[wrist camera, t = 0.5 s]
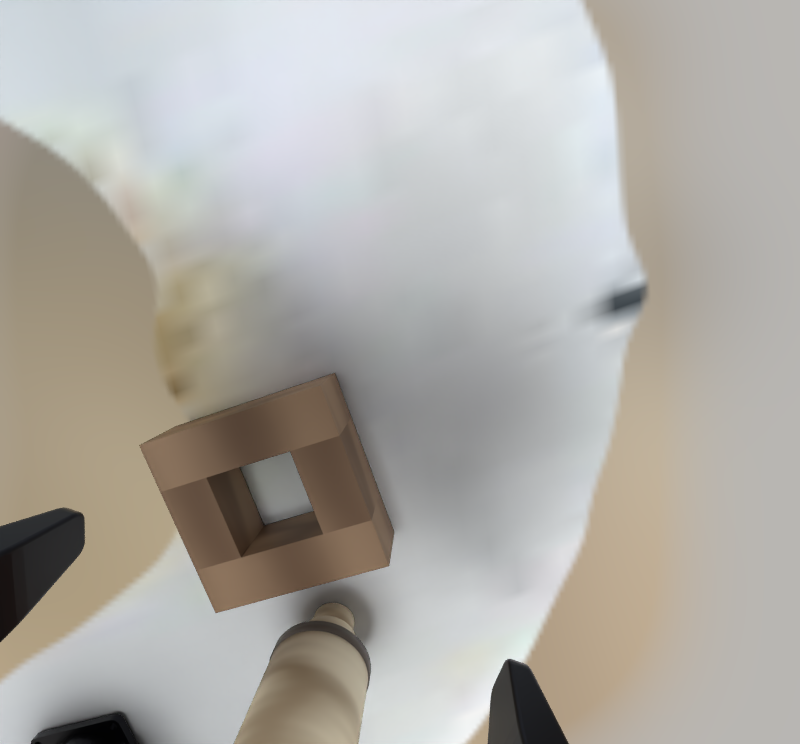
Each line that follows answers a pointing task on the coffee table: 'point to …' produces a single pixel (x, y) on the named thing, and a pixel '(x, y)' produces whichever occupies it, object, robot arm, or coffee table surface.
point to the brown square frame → (236, 511)
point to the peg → (312, 685)
